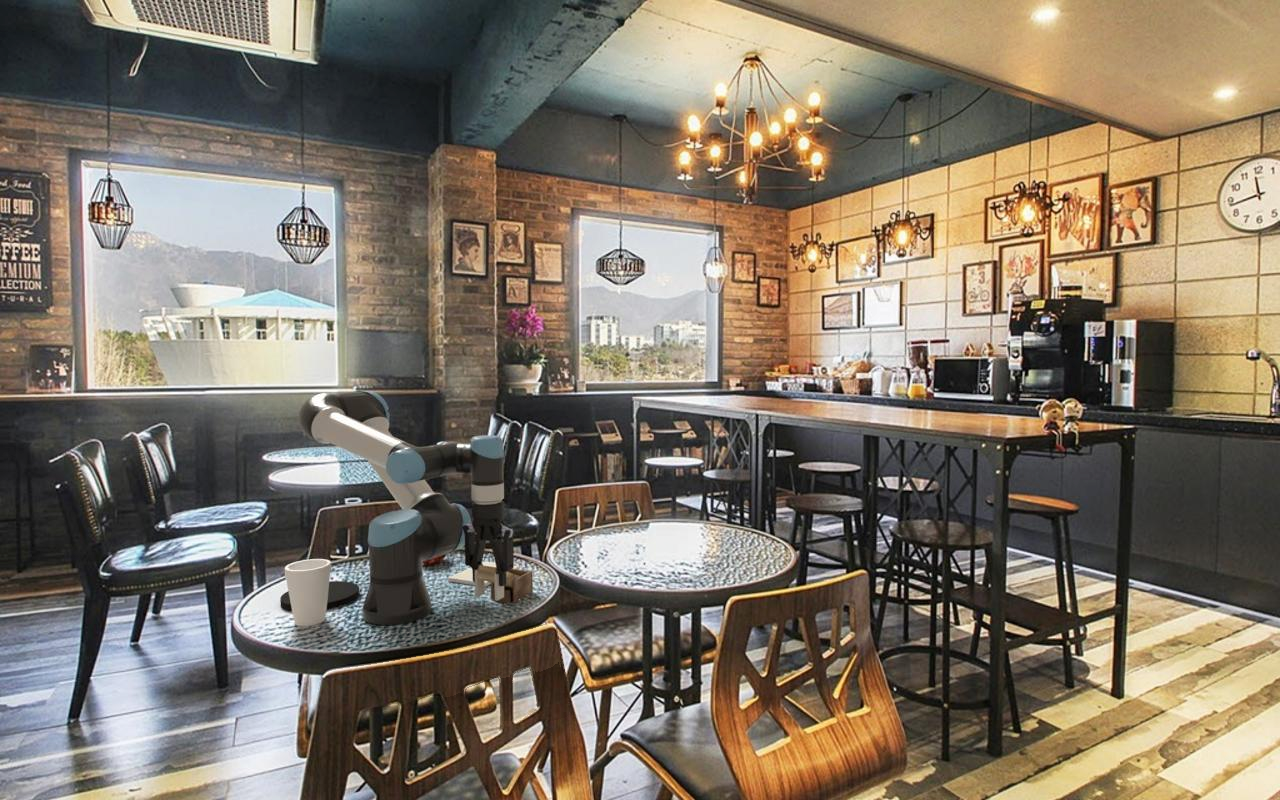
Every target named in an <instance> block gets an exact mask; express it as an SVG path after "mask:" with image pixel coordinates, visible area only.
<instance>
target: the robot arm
mask: <svg viewBox="0 0 1280 800" xmlns="http://www.w3.org/2000/svg"><path fill="white" fill-rule="evenodd" d="M390 415H391V414H390V412H389V406H388V404H387V402H386V401H385V399H384V398H383V397H382V396H381V395H380V394H378V393H376V392H375V391H366V390H355V391H348V392H347V391H345V392H344V391H343V392H325V393H323V392H321V393H318V394H315V395H313V396H311V397H309V398H308V399H307V400H305V402H304V403H302V405H301V407H300V409H299V412H298V418H297V420H298V425H299V428H301V431H302V433H304V434H305V436H307V437H309V438H310V439H312V440H314V441H316V442H318V443H320V444H323V445H325V444H326V445H327V444H332V445H333V446H336V447H339V448H340V449H343V450H345V451H347V452H348V453H351V454H353V455H356V456H358V457H360V458H362V459H364V460H366V461H367V462H368V463H369V464H370V466H371V467H372V468H373V470H374V472H375V473H376V474H377V476H378V477H379V478H380V480H381V481H382V483H383V484H384V485H385V487H386V488H387V490H388V491H389V493H390V494H391V495H392V497H393V498H394V499H395V501H396V502H397V504H398V505H399V506H400V508H401V509H398V510H392V511H389V512H384V513H382V514H380V515H378V516H376V517H375V518H373V519H372V520H371V521H370V523H369V526H368V536H367V543H368V552H369V553H368V555H369V556H368V557H369V559H368V561H369V562H368V563H369V586H368V590H367V593H366V595H365V600H364V602H363V606H362V618H363V621H365V622H366V623H368V624H373V625H381V626H386V625H387V626H389V625H400V624H404V623H409V622H410V623H411V622H413V621H417V620H419V619H422V618H424V617H426V616H427V615H428V614H430V612H431V611H432V599H431V596H430V594H429V591H428V588H427V586H426V583H425V580H424V575H423V561H426V560H429V559H432V558H435V557H438V556H441V555H445V554H447V555H449V554H452V553H454V552H455V551H458V550H461V549H462V548H463V547H464V564H465V566H469V568H472V572H473V582H475V585H474V598H479V597H481V596H483V595H485V594H486V593H485V588H486V587H485V583H484V580H482V579H479V578H476V576H477V572H478V568H479V565H483V564H482V563H483V559H484V554H485V549H486V544H487V542H489V545H490V546H491V549H492V554H493V558H494V563H496V568H497V572H495V573H494V577H495V600H496V601H495V602H499V601H498V600H500V599H502V598H503V597H504V585H506V572H507V571H509V570H511V569H513V568H514V564H515V563H514V536H515V532H516V530H515V528H514V527H512V528H509V527H507V526H506V524H505V522H504V517H505V502H504V501H503V499H504V498H505V484H504V483H505V480H504V464H505V462H504V459H505V458H504V457H505V452H504V451H505V450H504V442H503V439H502V437H501V436H499V435H492V434H491V435H488V434H485V435H483V434H482V435H475V436H473V437H472V438H471V439H470V442H462V441H461V442H459V441H454V440H449V441H439V442H437V443H435V444H433V445H427V446H415V445H413V444H411V443H408V442H407V441H404V440H402V439H399V438H397V437H395V436H393V435H392V433H391V432H390V431H389V428H390ZM454 474H461V475H470V476H471V480H470V481H471V500H472V501H473V502H472V503H471V516H472V518H473V520H472V519H471V517H470V513H469V511H468V510H467V509H466V507H465V506H463V505H462V504H459V503H455V502H453V503H450V502H449V501H448V499H447V498H446V497H445V495H444V494H442V493H440V492H435V491H433V489H432V488H431V486H430V484H429V483H428V482H427V481H426V480H428V479H429V480H430V479H434V478H439V477H440V478H441V477H443V476H449V475H450V476H451V475H454Z"/></svg>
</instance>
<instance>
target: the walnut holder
mask: <svg viewBox="0 0 1280 800" xmlns="http://www.w3.org/2000/svg"><path fill="white" fill-rule="evenodd" d="M507 572H510V573H513V574H515V575H518V576H520V577H518V578H516V579H514V580H513V589H510V588H505V587H504V597H503V598H502V599H500V600H498V601H496V600H495V584H494V583H491V584H490V598H491V599H492V601H494V602H501V603H506V602H508V603H507V604H510V603H511V590H513V591H512V601H513V603H517V602H519V601H520V600H519V599H521V598H522V599H524V598H525V597H524V596H526V595H528V594H529V595H531V594H533V593H532V592H533V591H534V588H533V586H534V585H533V571H531V570H525V569H520V570H519V569H511V570H509V571H507ZM530 593H531V594H530ZM529 595H528V596H529ZM523 597H524V598H523ZM526 597H527V596H526ZM522 599H521V600H522ZM518 600H519V601H518ZM516 601H517V602H516Z"/></svg>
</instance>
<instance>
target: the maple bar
mask: <svg viewBox="0 0 1280 800" xmlns="http://www.w3.org/2000/svg"><path fill="white" fill-rule="evenodd" d="M495 572H497V568H496V567H490V566H483V565H479V568H478V572H477V576H476V578H479V579H482V580H485V581H488V582H491V583H494V584H495V577H494V573H495ZM518 577H520V576H518V575H515V574H513V573H510V572H506V585H504V587H505V588H510V589H513V580H514V579H516V578H518Z"/></svg>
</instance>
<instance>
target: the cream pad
mask: <svg viewBox="0 0 1280 800" xmlns="http://www.w3.org/2000/svg"><path fill="white" fill-rule="evenodd" d="M482 564H483V566H490V567H496V563H495V562H491V561H482ZM520 567H521V566H519V565H514V568H513V569H520ZM520 570H521V569H520ZM447 581H448V582H449V583H457V584H464V585H469V586H470V585H471V586H475V582H473V572H472V568H471V567H469V568H467V569H466V570H461V571H460V572H458V573H455V574H453V575H451V576H448V577H447ZM484 583H485V588H486V587H487V586H489V585H490V586H491V582H488V581H485V580H484Z"/></svg>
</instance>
